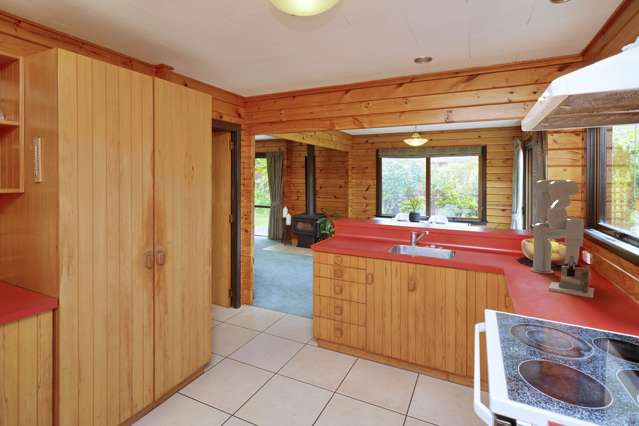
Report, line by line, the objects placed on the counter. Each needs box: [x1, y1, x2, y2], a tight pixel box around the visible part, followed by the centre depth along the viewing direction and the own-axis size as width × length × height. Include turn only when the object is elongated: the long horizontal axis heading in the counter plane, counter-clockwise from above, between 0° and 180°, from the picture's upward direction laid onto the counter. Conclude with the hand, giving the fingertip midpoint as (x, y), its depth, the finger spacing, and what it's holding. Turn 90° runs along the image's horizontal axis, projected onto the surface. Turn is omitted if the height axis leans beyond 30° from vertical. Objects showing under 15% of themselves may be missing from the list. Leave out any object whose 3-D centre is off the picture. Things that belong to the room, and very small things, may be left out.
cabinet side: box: [580, 264, 591, 293], centre depth 168 cm, size 12×3×12 cm, turn 138°
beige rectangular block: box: [560, 265, 585, 285], centre depth 171 cm, size 3×9×11 cm, turn 48°
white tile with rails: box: [548, 279, 595, 298], centre depth 172 cm, size 14×18×4 cm
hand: (571, 274), depth 172 cm, fingers open, 9 cm apart
